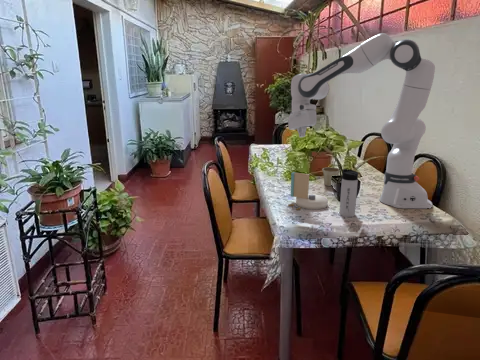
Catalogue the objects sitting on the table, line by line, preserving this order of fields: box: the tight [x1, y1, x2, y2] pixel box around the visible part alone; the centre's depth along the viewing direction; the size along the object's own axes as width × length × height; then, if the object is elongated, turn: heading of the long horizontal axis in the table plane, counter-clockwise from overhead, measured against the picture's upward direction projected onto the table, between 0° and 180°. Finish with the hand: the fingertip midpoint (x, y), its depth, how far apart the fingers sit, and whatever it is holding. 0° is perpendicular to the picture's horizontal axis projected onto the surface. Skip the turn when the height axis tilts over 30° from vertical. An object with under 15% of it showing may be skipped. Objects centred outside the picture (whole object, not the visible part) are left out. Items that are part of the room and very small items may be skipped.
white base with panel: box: [290, 171, 329, 210], centre depth 165 cm, size 17×14×14 cm
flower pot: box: [321, 166, 340, 187], centre depth 199 cm, size 9×9×9 cm
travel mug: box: [338, 168, 359, 217], centre depth 152 cm, size 6×7×20 cm
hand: (302, 137), depth 180 cm, fingers closed
